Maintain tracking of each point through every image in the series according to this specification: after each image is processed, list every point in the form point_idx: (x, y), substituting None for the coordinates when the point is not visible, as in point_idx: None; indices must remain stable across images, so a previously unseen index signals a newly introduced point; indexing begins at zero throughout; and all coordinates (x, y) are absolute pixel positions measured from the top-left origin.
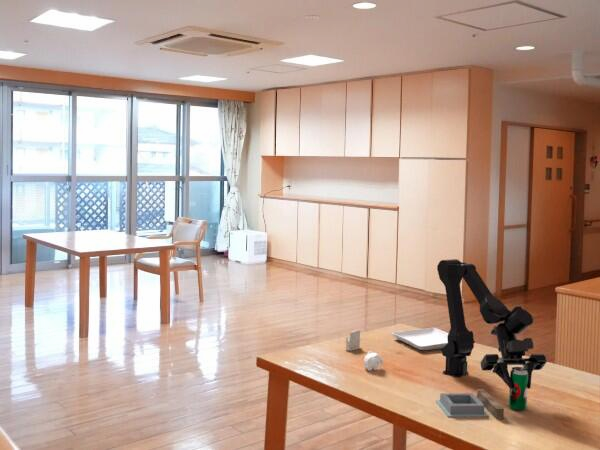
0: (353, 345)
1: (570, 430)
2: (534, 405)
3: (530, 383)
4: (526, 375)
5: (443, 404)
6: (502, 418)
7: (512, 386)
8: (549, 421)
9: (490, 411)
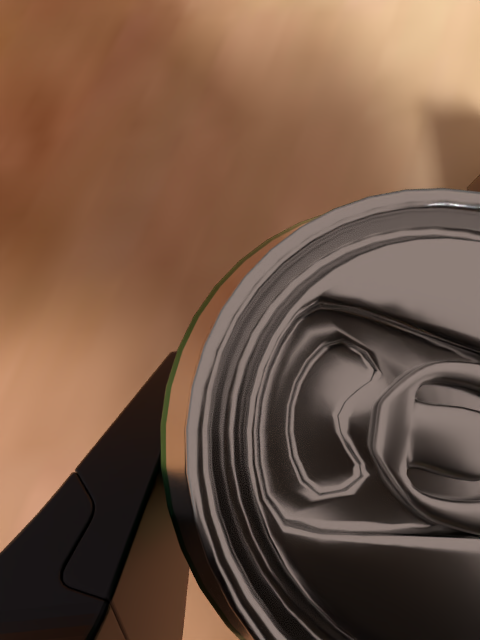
0: None
1: (47, 33)
2: None
3: (154, 378)
4: (264, 247)
5: None
6: (476, 184)
7: None
8: (126, 166)
9: None
